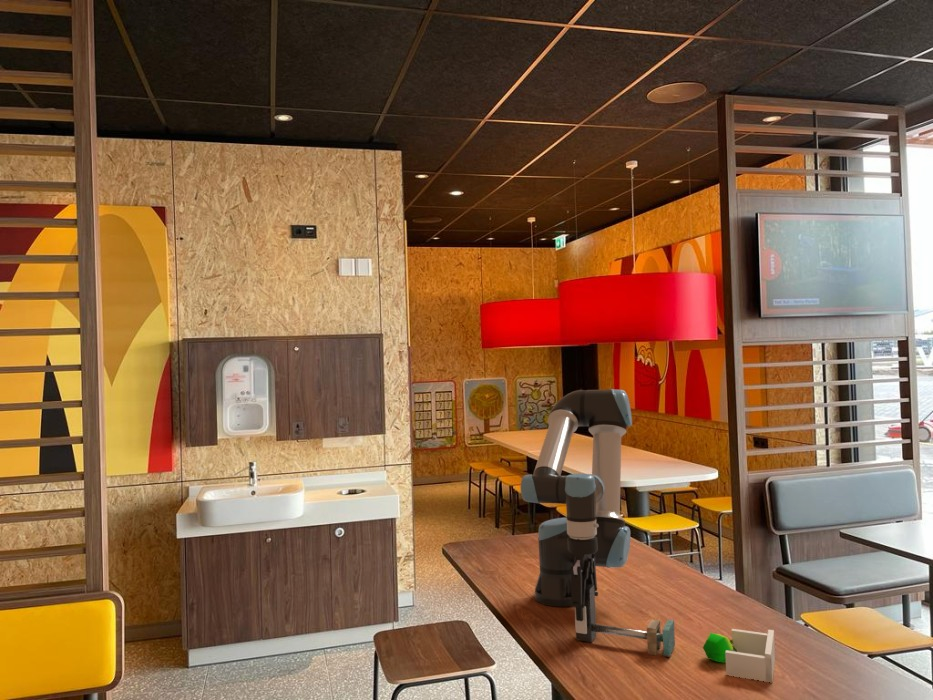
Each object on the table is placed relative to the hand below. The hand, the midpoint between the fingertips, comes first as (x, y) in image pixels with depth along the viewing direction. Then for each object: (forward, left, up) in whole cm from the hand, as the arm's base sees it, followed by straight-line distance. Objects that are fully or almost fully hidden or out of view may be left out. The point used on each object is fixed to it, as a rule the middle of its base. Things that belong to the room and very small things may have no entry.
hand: (585, 627), depth 168 cm
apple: (+32, +1, -3) cm, 32 cm away
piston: (+10, 0, -3) cm, 10 cm away
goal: (+39, 0, -3) cm, 39 cm away
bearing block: (+17, 0, -3) cm, 17 cm away
